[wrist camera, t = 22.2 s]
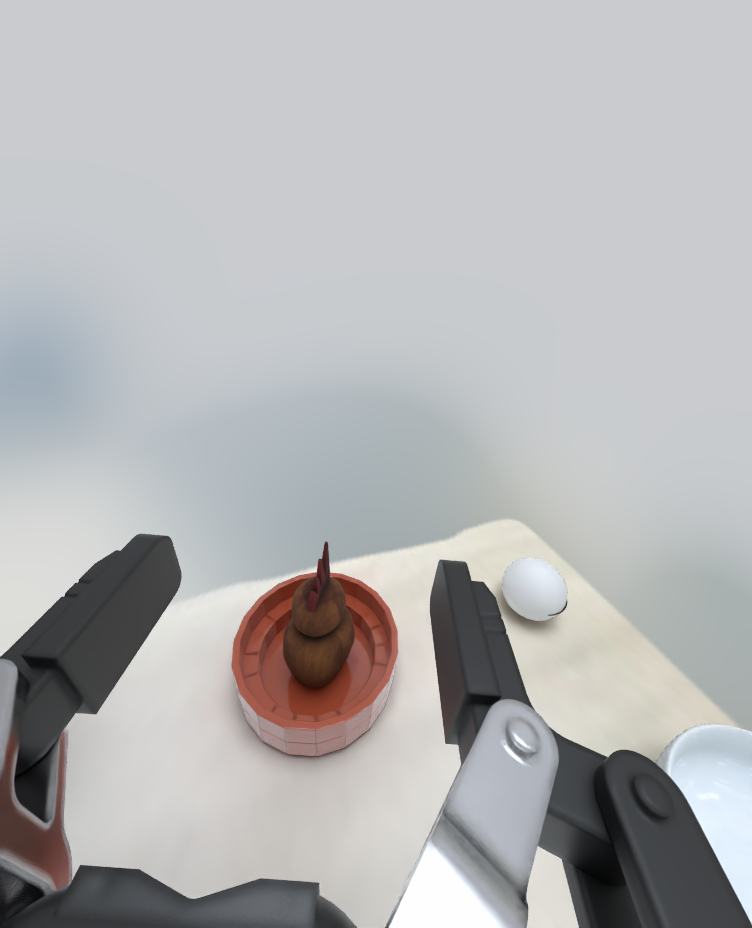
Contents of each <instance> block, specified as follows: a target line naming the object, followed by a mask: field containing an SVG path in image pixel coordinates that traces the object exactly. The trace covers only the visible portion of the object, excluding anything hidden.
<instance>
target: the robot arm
mask: <svg viewBox="0 0 752 928" xmlns="http://www.w3.org/2000/svg"><path fill="white" fill-rule="evenodd" d="M180 582H181V570H180V566H179V563H178V559H177V556H176V553H175V550H174V547H173V543H172V540H171V538H170V537H168V536H160V535H150V534H138V535H136V536H135V537H134V538H133V539H132V540H131V541H130V542H129V543H128V544H127V545H126V546H125V547H124V548H123V549H122V550H121V551H117V550H116V551H114V552H113V553H111V554H110V555H108V556H106V557H105V558H103V559H102V560H100V561H98V562H97V563H95V564H94V565H93V566H92V567H91V568H90V569H89V570H88V571H87V572H86V573H85V574H84V575H83V576H82V577H81V578H80V579H79V582H78V583H75V584H74V585H73V586H72V587H71V588H70V589H69V590H68V591H67V592H66V593H65V596H64V597H61V598H60V599H59V600H58V601H57V602H56V603H55V604H54V605H53V606H52V607H51V608H50V609H49V610H48V611H47V612H46V613H45V614H44V615H43V616H42V617H41V618H40V619H39V620H38V621H37V622H36V623H35V624H34V625H33V626H32V627H31V628H30V629H29V630H28V631H27V632H26V633H25V634H24V635H23V636H22V637H21V638H20V639H19V640H18V641H17V642H16V643H15V644H14V645H13V646H12V647H11V648H10V649H9V650H8V651H6V652H5V653H4V654H3V655H2V656H1V657H0V928H357V927H356V926H355V925H354V924H353V922H352V921H351V920H350V919H349V918H348V917H347V915H346V914H345V913H344V912H343V911H341V910H340V909H339V908H338V907H337V906H335V905H334V904H333V903H332V902H330V901H328V900H326V899H325V898H323V897H321V896H319V883H314V882H301V881H287V880H274V879H258V880H255V881H251V882H248V883H245V884H242V885H239V886H236V887H233V888H229V889H226V890H223V891H220V892H217V893H214V894H211V895H208V896H204V897H201V898H197V899H189V898H187V897H185V896H183V895H182V894H180V893H178V892H176V891H175V890H173V889H171V888H170V887H168V886H166V885H165V884H163V883H161V882H160V881H158V880H156V879H154V878H153V877H151V876H149V875H148V874H146V873H144V872H143V871H141V870H139V869H126V868H112V867H99V866H85V865H80V867H79V869H78V871H77V872H76V874H75V876H74V878H73V880H72V860H71V852H70V847H69V843H68V840H67V838H66V835H65V830H64V800H65V781H66V763H67V745H68V730H67V727H66V726H67V724H68V723H69V721H70V720H71V719H72V717H73V716H74V714H75V713H86V714H97V712H98V711H99V709H100V707H101V706H102V704H103V703H104V701H105V700H106V698H107V697H108V695H109V694H110V692H111V691H112V689H113V688H114V686H115V685H116V683H117V682H118V680H119V679H120V677H121V676H122V674H123V673H124V671H125V670H126V668H127V667H128V665H129V664H130V662H131V661H132V659H133V658H134V656H135V655H136V653H137V652H138V650H139V649H140V647H141V646H142V644H143V643H144V641H145V640H146V638H147V637H148V635H149V633H150V632H151V630H152V629H153V627H154V626H155V624H156V623H157V621H158V620H159V618H160V617H161V615H162V614H163V612H164V611H165V609H166V608H167V606H168V605H169V603H170V602H171V600H172V599H173V597H174V596H175V594H176V593H177V591H178V588H179V586H180ZM430 616H431V625H432V633H433V642H434V650H435V659H436V667H437V675H438V684H439V692H440V701H441V709H442V717H443V726H444V734H445V743H446V744H456V745H459V752H460V759H461V767H460V769H459V771H458V773H457V775H456V777H455V779H454V782H453V784H452V786H451V788H450V790H449V792H448V794H447V797H446V799H445V801H444V803H443V805H442V807H441V809H440V812H439V814H438V816H437V818H436V820H435V822H434V824H433V827H432V829H431V831H430V833H429V835H428V837H427V839H426V842H425V844H424V846H423V848H422V850H421V852H420V854H419V856H418V859H417V861H416V863H415V865H414V867H413V869H412V871H411V873H410V875H409V877H408V879H407V881H406V884H405V886H404V888H403V890H402V892H401V894H400V896H399V899H398V901H397V903H396V905H395V907H394V909H393V911H392V914H391V916H390V918H389V920H388V922H387V924H386V926H385V928H526V927H527V920H528V904H527V900H526V892H527V886H528V881H529V877H530V873H531V869H532V865H533V861H534V857H535V854H536V850H537V846H539V847H541V848H543V849H545V850H546V851H548V852H550V853H552V854H554V855H556V856H557V857H559V858H561V859H562V862H563V866H564V870H565V874H566V878H567V881H568V885H569V889H570V893H571V897H572V901H573V905H574V909H575V913H576V917H577V921H578V925H579V928H752V924H751V922H750V920H749V918H748V916H747V914H746V912H745V910H744V908H743V906H742V904H741V902H740V901H739V899H738V897H737V895H736V893H735V891H734V889H733V887H732V885H731V883H730V881H729V879H728V878H727V876H726V874H725V872H724V870H723V868H722V866H721V864H720V862H719V860H718V858H717V856H716V854H715V853H714V851H713V849H712V847H711V845H710V843H709V841H708V839H707V837H706V835H705V833H704V831H703V829H702V828H701V826H700V824H699V822H698V820H697V818H696V816H695V814H694V812H693V810H692V808H691V806H690V805H689V803H688V801H687V799H686V798H685V796H684V794H683V793H682V791H681V790H680V788H679V787H678V786H677V784H676V783H675V782H674V781H673V780H672V778H671V777H670V776H669V775H668V774H667V773H666V772H665V771H664V770H663V769H662V768H660V767H659V766H658V765H657V764H656V763H654V762H653V761H651V760H650V759H648V758H647V757H645V756H643V755H641V754H639V753H637V752H634V751H630V750H618V751H616V752H614V753H612V754H611V755H610V756H609V757H606V756H604V755H601V754H599V753H597V752H595V751H592V750H590V749H588V748H586V747H584V746H581V745H579V744H577V743H575V742H572V741H570V740H568V739H566V738H564V737H562V736H561V735H559V734H558V733H556V732H555V731H554V730H552V729H551V728H550V727H549V726H548V725H547V723H546V722H545V721H544V720H543V718H542V717H541V716H540V715H539V714H538V713H537V712H536V711H535V710H534V708H533V706H532V705H531V703H530V701H529V698H528V696H527V693H526V690H525V687H524V684H523V681H522V678H521V675H520V672H519V669H518V666H517V662H516V659H515V656H514V653H513V650H512V647H511V644H510V641H509V638H508V635H506V629H505V625H504V622H503V619H501V613H500V610H499V607H498V604H497V601H496V598H495V596H494V595H493V594H492V593H491V591H490V590H489V589H488V587H487V586H486V585H485V583H484V582H478V581H471V577H470V573H469V570H468V566H467V564H466V562H462V561H450V560H440V561H439V563H438V566H437V571H436V575H435V579H434V583H433V587H432V591H431V597H430Z"/></svg>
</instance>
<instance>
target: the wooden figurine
mask: <svg viewBox="0 0 752 928" xmlns="http://www.w3.org/2000/svg"><path fill="white" fill-rule="evenodd" d="M291 616H292V618H291V620H290V622H289V624H288V625H287V627H286V629H285V632H284V634H283V655H284V659H285V662H286V664H287V666H288V668H289V669H290V671H291V673H292V675H293V676H294V678H296V679H297V680H298V681H299V682H300V683H302V684H303V685H306V686H309V687H312V688H316V687H323V686H324V685H326V684H327V683H329V682H331V681H332V680H333V679H334V678H335V677H336V676H337V675H338V673H339V671H340V669H341V668H342V666H343V665H344V663H345V661H346V660H347V658H348V655H349V653H350V650H351V648H352V645H353V643H354V638H355V633H354V626H353V619H352V616H351V614H350V612H349V611H348V609H347V607H346V598H345V591H344V590H343V588H342V586H341V585H340V583H339V581H337V580H336V579H334V578H333V577H330V567H329V553H328V543H327V542H325V545H324V551H323V557H322V559H319V561H318V568H317V576H314V577H311V578H309V579H307V580H305V581H304V582H302V584H301V585H300V586H299V587H298V588H297V590H296V591H295V594H294V596H293V599H292V602H291Z"/></svg>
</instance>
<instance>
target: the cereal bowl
mask: <svg viewBox="0 0 752 928" xmlns="http://www.w3.org/2000/svg"><path fill="white" fill-rule="evenodd" d="M656 764H657V765H658V766H659V767H660V768H662V769H663V770H664V771H665V772H666V773H667V774H668V775H669V776H670V777H671V778H672V780H673V781H674V782H675V783H676V784H677V786H678V787H679V788H680V790H681V791H682V793H683V794H684V796H685V798H686V799H687V801H688V803H689V805H690V806H691V808H692V810H693V812H694V814H695V816H696V818H697V820H698V822H699V824H700V826H701V828H702V829H703V831H704V833H705V835H706V837H707V839H708V841H709V843H710V845H711V847H712V849H713V851H714V853H715V854H716V856H717V858H718V860H719V862H720V864H721V866H722V868H723V870H724V872H725V874H726V876H727V878H728V879H729V881H730V883H731V885H732V887H733V889H734V891H735V893H736V895H737V897H738V899H739V901H740V902H741V904H742V906H743V908H744V910H745V912H746V914H747V916H748V918H749V920H750V922H751V924H752V732H751V731H748V730H745V729H741V728H737V727H732V726H727V725H719V724H706V725H700V726H695V727H693V728H690V729H688V730H685V731H684V732H683V733H682V734H680V735H678V736H676V738H675V739H674V740H673V741H671V742H670V744H669V745H668V746H667V747H666V748H665V751H664V752H663V753H662V754H661V755H660V758H659V759H658V760H657V763H656Z"/></svg>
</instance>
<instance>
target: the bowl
mask: <svg viewBox="0 0 752 928" xmlns="http://www.w3.org/2000/svg"><path fill="white" fill-rule="evenodd" d="M314 576H317V573H310V574H304V575H299V576H296V577H294V578H291V579H289V580H287V581H284V582H282V583H279V584H277V585H276V586H275V587H273V588H272V589H271V590H269V591H268V592H267V593H265V594H264V595H263V596H261V597H260V598H259V599H258V600H257V601H256V603H255V604H254V605H253V606H252V607H251V609H250V610H249V611H248V612H247V614H246V615H245V616H244V618H243V620H242V622H241V625H240V627H239V630H238V632H237V634H236V637H235V639H234V643H233V656H232V670H233V675H234V679H235V683H236V687H237V691H238V695H239V698H240V702H241V705H242V709H243V712H244V715H245V719H246V721H247V722H248V723H249V724H250V726H251V727H252V728H253V729H254V731H255V732H256V733H257V735H258V736H259V737H260V738H261V740H263V742H265V743H267V744H269V745H271V746H273V747H275V748H277V749H279V750H280V751H282V752H284V753H286V754H287V753H288V754H292V755H305V756H320V755H323V754H326V753H329V752H332V751H336V750H339V749H342V748H345V747H346V746H348V745H349V744H350V743H352V742H353V741H354V740H356V739H357V738H358V737H360V736H361V735H362V734H364V733H365V732H366V731H368V730H369V728H370V727H371V726H372V724H373V723H374V721H375V720H376V718H377V717H378V715H379V714H380V712H381V711H382V710H383V708H384V707H385V704H386V701H387V698H388V694H389V691H390V688H391V685H392V681H393V676H394V671H395V666H396V661H397V655H398V638H397V628H396V625H395V622H394V619H393V617H392V614H391V611H390V609H389V607H388V606H387V605H386V603H385V602H384V601H383V600H382V598H381V597H380V596H379V594H378V593H377V592H376V591H374V590H373V589H371V588H370V587H369V586H367V585H366V584H364V583H363V582H362V581H360V580H357V579H355V578H352V577H349V576H346V575H343V574H339V573H330V577H333V578H334V579H336V580H337V581H339V583H340V585H341V586H342V588H343V590H344V591H345V598H346V607H347V609H348V611H349V612H350V614H351V616H352V619H353V626H354V633H355V638H354V643H353V645H352V648H351V650H350V653H349V655H348V658H347V660H346V661H345V663H344V665H343V666H342V668H341V669H340V671H339V673H338V675H337V676H336V677H335V678H334V679H333V680H332V681H331V682H329V683H327V684H326V685H324V686H323V687H316V688H312V687H309V686H306V685H303V684H302V683H300V682H299V681H298V680H297V679H296V678H294V676H293V675H292V673H291V671H290V669H289V668H288V666H287V664H286V662H285V659H284V655H283V634H284V632H285V629H286V627H287V625H288V624H289V622H290V620H291V618H292V616H291V602H292V599H293V596H294V594H295V591H296V590H297V588H298V587H299V586H300V585H301V584H302V582H304V581H305V580H307V579H309V578H311V577H314Z"/></svg>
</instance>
